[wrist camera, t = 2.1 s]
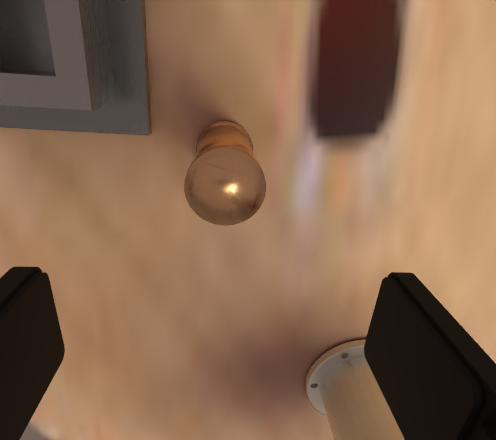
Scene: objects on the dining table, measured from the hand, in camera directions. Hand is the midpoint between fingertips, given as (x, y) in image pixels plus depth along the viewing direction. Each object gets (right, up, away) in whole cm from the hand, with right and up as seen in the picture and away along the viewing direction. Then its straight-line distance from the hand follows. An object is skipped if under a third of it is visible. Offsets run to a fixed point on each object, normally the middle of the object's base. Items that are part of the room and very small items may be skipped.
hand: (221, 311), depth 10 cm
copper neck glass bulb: (-1, +9, +18) cm, 20 cm away
